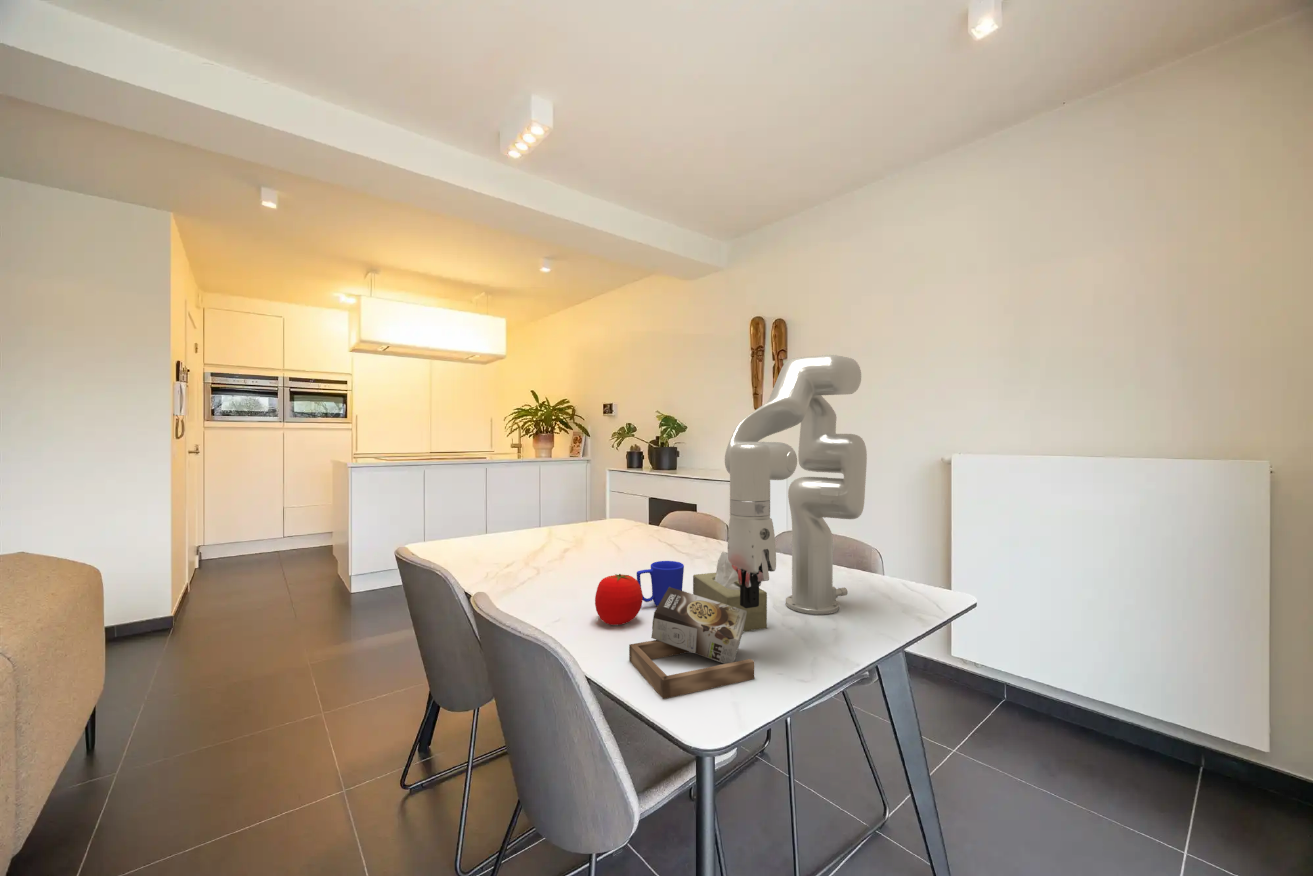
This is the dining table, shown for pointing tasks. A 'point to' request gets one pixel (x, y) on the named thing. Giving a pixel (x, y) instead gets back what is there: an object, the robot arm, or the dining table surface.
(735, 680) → the u rest
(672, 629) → the coffee box
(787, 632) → the dining table surface
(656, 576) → the mug
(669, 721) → the dining table surface
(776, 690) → the dining table surface
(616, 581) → the tomato
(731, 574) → the tissue box
